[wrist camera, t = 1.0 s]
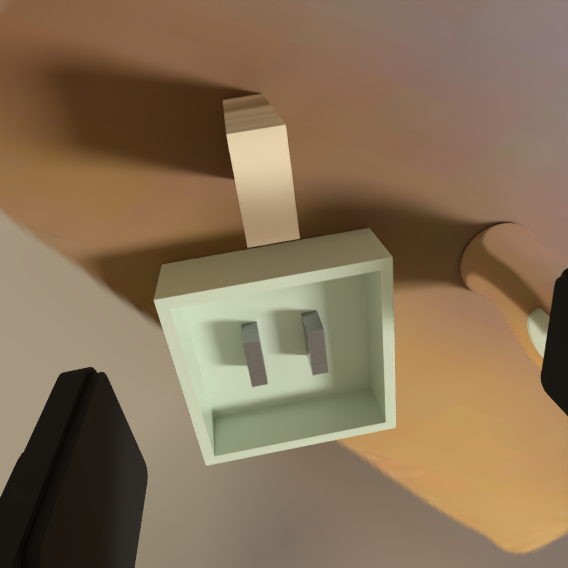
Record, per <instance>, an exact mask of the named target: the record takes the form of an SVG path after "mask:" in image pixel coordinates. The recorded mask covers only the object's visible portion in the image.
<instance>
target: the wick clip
mask: <svg viewBox="0 0 568 568" xmlns="http://www.w3.org/2000/svg"><path fill="white" fill-rule="evenodd" d="M301 315H302V322H303V330H304V337H305V345H306V352H307V357H308V361H309V364H310V368H311V371H312V375H318V374H323V373H328V364H327V355H326V345H325V336H324V328H323V326H322V323H321V320H320V318H319V315H318V312H317V310H316V311H311V312H306V313H301ZM241 331H242V342H243V348H244V353H245V357H246V362H247V366H248V371H249V375H250V380H251V385H252V387H255V386H261V385H266V384H268V381H267V374H266V368H265V362H264V356H263V351H262V346H261V341H260V336H259V331H258V326H257V322H251V323H246V324H241Z"/></svg>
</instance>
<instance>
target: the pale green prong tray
mask: <svg viewBox="0 0 568 568" xmlns="http://www.w3.org/2000/svg"><path fill="white" fill-rule="evenodd" d="M154 303H155V306H156V309H157V313H158V316H159V319H160V322H161V325H162V328H163V331H164V335H165V338H166V341H167V344H168V347H169V350H170V353H171V357H172V359H173V363H174V366H175V369H176V372H177V375H178V379H179V382H180V385H181V388H182V391H183V394H184V397H185V401H186V404H187V407H188V410H189V413H190V416H191V419H192V423H193V426H194V429H195V432H196V435H197V438H198V441H199V445H200V448H201V451H202V454H203V457H204V460H205V463H206V466H207V465H212V464H216V463H222V462H227V461H232V460H237V459H242V458H247V457H251V456H257V455H262V454H267V453H272V452H277V451H282V450H287V449H292V448H297V447H302V446H307V445H312V444H317V443H322V442H327V441H332V440H337V439H342V438H347V437H352V436H357V435H362V434H367V433H372V432H377V431H382V430H387V429H392V428H396V406H395V352H394V298H393V257H392V255H391V254H390V253H389V252H388V250H387V249H386V248H385V247H384V245H383V244H382V243H381V242H380V240H379V239H378V238H377V237H376V235H375V234H374V233H373V232H372V230H371V229H370V228H365V229H359V230H354V231H348V232H342V233H337V234H331V235H325V236H320V237H314V238H308V239H303V240H297V241H291V242H286V243H280V244H274V245H269V246H263V247H257V248H252V249H246V250H241V251H235V252H229V253H224V254H218V255H212V256H207V257H201V258H195V259H190V260H184V261H178V262H173V263H167V264H162V266H161V270H160V274H159V279H158V283H157V287H156V292H155V296H154ZM316 310H317V312H318V315H319V318H320V320H321V323H322V326H323V328H324V336H325V345H326V355H327V364H328V373H323V374H318V375H312V371H311V368H310V364H309V361H308V357H307V352H306V345H305V337H304V330H303V322H302V315H301V313H306V312H311V311H316ZM251 322H257V326H258V331H259V336H260V341H261V346H262V351H263V356H264V362H265V368H266V374H267V381H268V384H266V385H261V386H255V387H252V385H251V380H250V375H249V371H248V366H247V362H246V357H245V353H244V348H243V342H242V331H241V324H246V323H251Z"/></svg>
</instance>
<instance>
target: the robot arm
mask: <svg viewBox="0 0 568 568" xmlns="http://www.w3.org/2000/svg"><path fill="white" fill-rule="evenodd" d="M541 383H542V386H543V388H544V390H545V392H546V393H547V394H548V395H549V396H550V397H551V399H552V400H553V401H554V402H555V403H556V404H557V405H558V406H559V407H560V408H561V409H562V410H563V411H564V412H565V414H566V415H567V416H568V268H567V269H565V270H564V271H563V272H562V274H561V277H559V278H557V280H556V281H555V285H554V291H553V298H552V304H551V311H550V318H549V324H548V331H547V338H546V344H545V351H544V358H543V364H542V371H541ZM147 478H148V476H147V467H146V463H145V461H144V459H143V456H142V454H141V452H140V449H139V447H138V445H137V443H136V440H135V438H134V436H133V434H132V431H131V429H130V427H129V425H128V422H127V420H126V418H125V415H124V413H123V411H122V409H121V407H120V404H119V402H118V400H117V397H116V395H115V393H114V391H113V388H112V386H111V384H110V382H109V379H108V377H107V375H106V374H105V373H104V372H99V373H97V372H96V370H95V369H94V368H92V367H88V368H83V369H78V370H73V371H68V372H63V373H61V374H60V375H59V377H58V378H57V381H56V383H55V385H54V387H53V389H52V392H51V394H50V396H49V398H48V400H47V402H46V405H45V407H44V409H43V411H42V414H41V416H40V418H39V420H38V422H37V424H36V427H35V429H34V431H33V433H32V435H31V438H30V440H29V442H28V444H27V446H26V448H25V451H24V452H23V453H22V454H21V456H20V457H19V459H18V461H17V463H16V465H15V467H14V469H13V471H12V473H11V476H10V478H9V480H8V482H7V484H6V486H5V489H4V491H3V493H2V495H1V497H0V568H135V560H136V554H137V548H138V541H139V534H140V528H141V521H142V513H143V507H144V501H145V494H146V487H147Z"/></svg>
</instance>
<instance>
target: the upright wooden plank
mask: <svg viewBox="0 0 568 568" xmlns="http://www.w3.org/2000/svg"><path fill="white" fill-rule="evenodd" d="M223 109H224V118H225V127H226V136H227V141H228V146H229V152H230V157H231V162H232V168H233V173H234V178H235V184H236V189H237V194H238V199H239V205H240V210H241V215H242V221H243V226H244V231H245V237H246V242H247V247H248V248H249V247H255V246H261V245H266V244H272V243H278V242H283V241H289V240H295V239H300V235H299V227H298V219H297V211H296V204H295V196H294V188H293V180H292V172H291V164H290V156H289V148H288V140H287V132H286V125H285V123H284V122H283V121H282V119H281V118H280V117H279V115H278V114H277V113H276V112H275V110H274V109H273V108H272V106H271V105H270V104H269V103H268V101H267V100H266V99H265V97H264V96H263V95H262V94H256V95H249V96H243V97H237V98H231V99H224V100H223Z"/></svg>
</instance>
